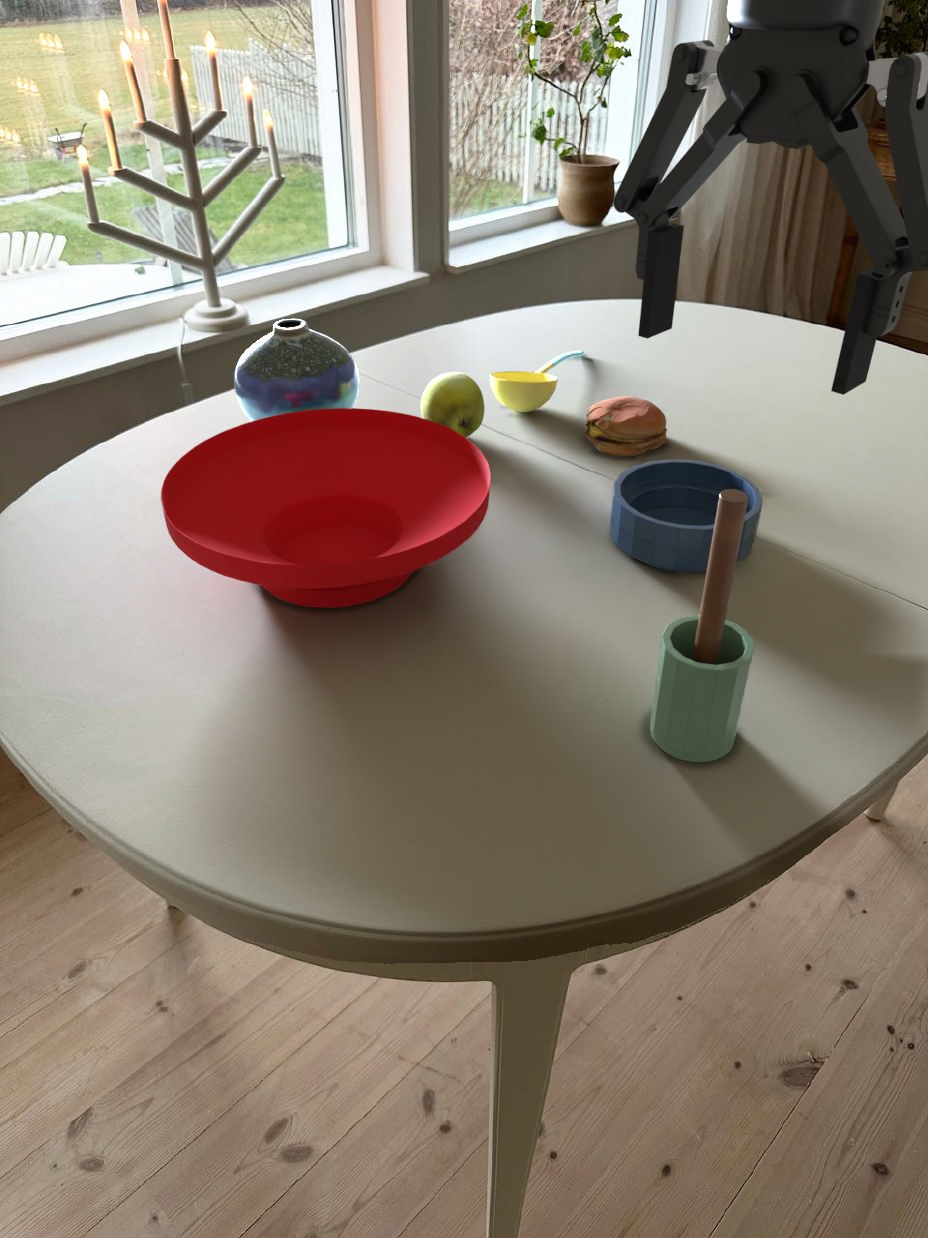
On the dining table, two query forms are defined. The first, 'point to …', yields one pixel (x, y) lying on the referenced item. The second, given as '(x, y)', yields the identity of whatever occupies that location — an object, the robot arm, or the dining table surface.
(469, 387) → the apple
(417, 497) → the bowl
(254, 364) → the vase
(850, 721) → the dining table surface
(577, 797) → the dining table surface
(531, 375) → the ladle
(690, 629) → the crock
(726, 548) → the stick
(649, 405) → the burger
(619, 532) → the blue pet dish
